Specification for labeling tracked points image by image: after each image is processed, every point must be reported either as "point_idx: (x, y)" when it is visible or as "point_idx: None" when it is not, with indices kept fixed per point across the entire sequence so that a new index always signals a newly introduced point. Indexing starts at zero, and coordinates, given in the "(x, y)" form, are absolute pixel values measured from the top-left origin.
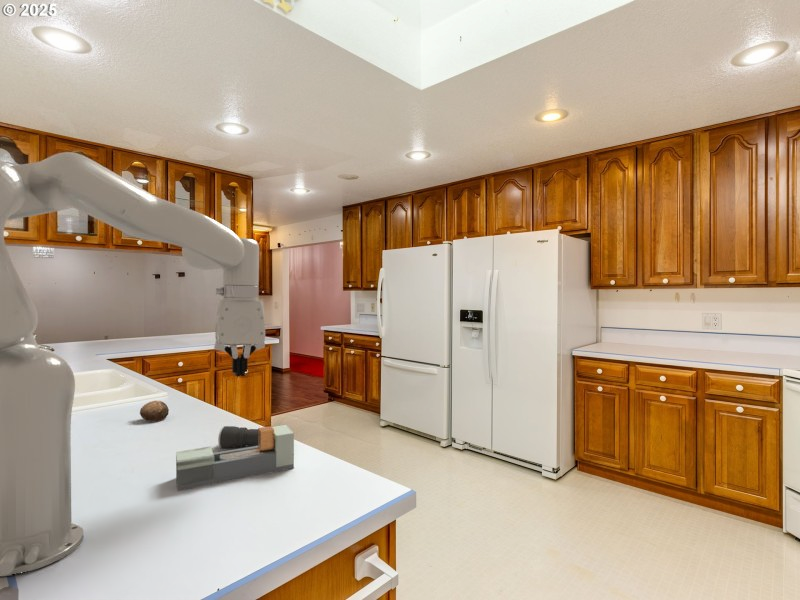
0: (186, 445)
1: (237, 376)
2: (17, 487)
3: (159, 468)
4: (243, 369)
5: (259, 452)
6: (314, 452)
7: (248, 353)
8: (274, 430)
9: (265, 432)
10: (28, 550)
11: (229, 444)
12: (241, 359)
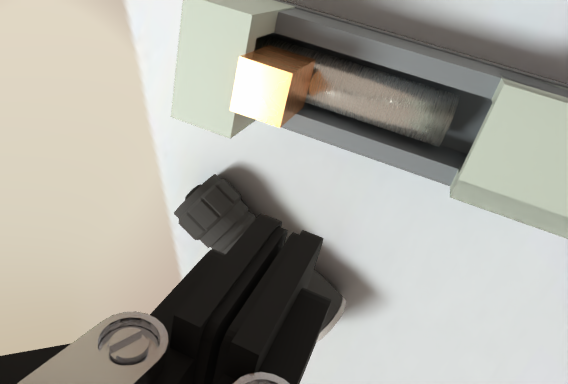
0: (399, 380)
1: (319, 238)
2: None
3: (546, 299)
4: (248, 244)
5: (320, 65)
6: (146, 63)
7: (88, 348)
8: (231, 85)
9: (276, 66)
10: None
11: (322, 276)
12: (213, 332)
